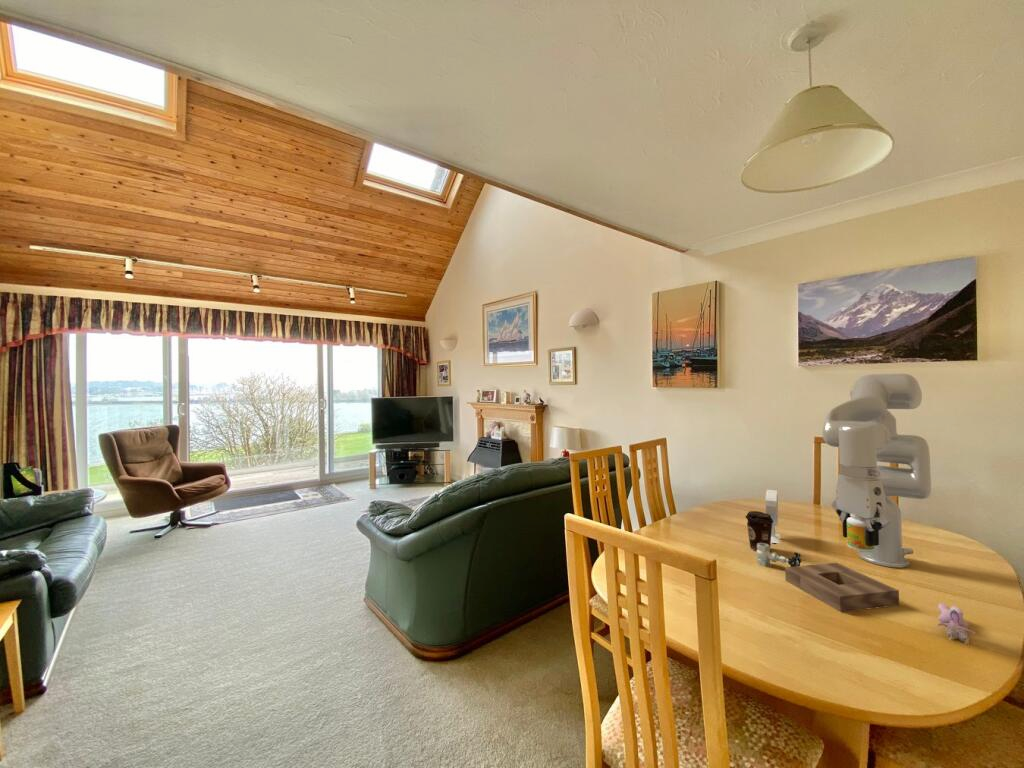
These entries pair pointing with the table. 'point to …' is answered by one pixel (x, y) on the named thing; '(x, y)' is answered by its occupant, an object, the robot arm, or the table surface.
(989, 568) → the table surface
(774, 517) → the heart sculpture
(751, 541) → the coffee cup
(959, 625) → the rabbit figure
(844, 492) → the robot arm
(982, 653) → the table surface
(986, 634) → the table surface
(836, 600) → the socket block
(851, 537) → the supplement bottle
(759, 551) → the valve
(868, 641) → the table surface
